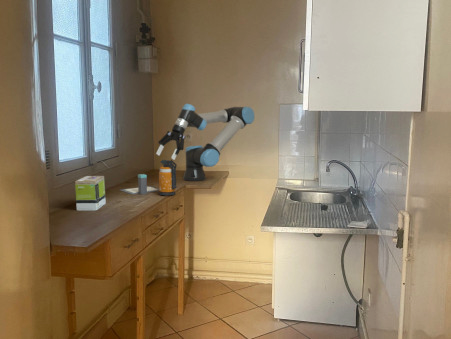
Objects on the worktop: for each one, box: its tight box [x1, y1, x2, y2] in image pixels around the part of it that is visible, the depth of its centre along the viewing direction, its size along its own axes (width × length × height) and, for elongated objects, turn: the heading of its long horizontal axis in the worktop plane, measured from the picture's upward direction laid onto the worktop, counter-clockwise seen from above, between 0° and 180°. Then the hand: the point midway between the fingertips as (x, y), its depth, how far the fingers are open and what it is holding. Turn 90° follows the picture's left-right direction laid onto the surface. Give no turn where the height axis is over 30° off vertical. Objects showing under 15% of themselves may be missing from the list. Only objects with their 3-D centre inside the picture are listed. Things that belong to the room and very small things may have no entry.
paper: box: [119, 185, 159, 195], centre depth 261 cm, size 20×16×1 cm
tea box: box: [74, 175, 107, 212], centre depth 216 cm, size 15×10×15 cm, turn 178°
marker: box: [137, 173, 148, 195], centre depth 250 cm, size 4×4×11 cm
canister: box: [158, 159, 178, 197], centre depth 246 cm, size 9×11×20 cm
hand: (165, 156), depth 270 cm, fingers open, 13 cm apart
